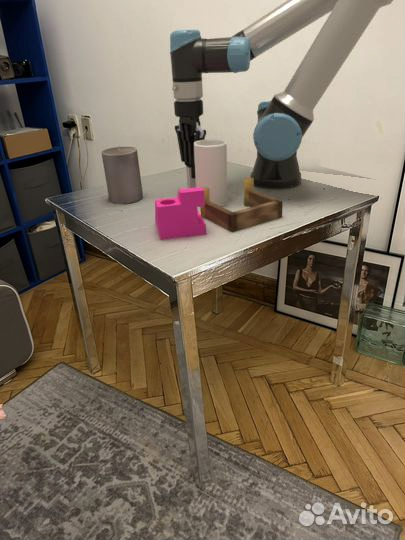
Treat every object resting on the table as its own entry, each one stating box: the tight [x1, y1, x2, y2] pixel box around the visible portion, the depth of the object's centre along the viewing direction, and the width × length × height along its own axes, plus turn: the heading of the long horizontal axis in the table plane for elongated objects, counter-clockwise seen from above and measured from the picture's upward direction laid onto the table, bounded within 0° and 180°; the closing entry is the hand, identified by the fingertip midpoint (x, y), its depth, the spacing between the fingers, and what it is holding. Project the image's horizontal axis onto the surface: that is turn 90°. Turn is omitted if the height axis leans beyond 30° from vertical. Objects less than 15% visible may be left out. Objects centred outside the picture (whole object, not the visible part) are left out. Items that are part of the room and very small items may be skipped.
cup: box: [194, 138, 228, 207], centre depth 105 cm, size 8×8×16 cm
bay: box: [199, 176, 284, 233], centre depth 97 cm, size 16×13×7 cm
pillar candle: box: [101, 146, 144, 205], centre depth 112 cm, size 10×10×15 cm
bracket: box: [154, 187, 207, 241], centre depth 92 cm, size 12×10×10 cm
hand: (192, 188), depth 115 cm, fingers closed
